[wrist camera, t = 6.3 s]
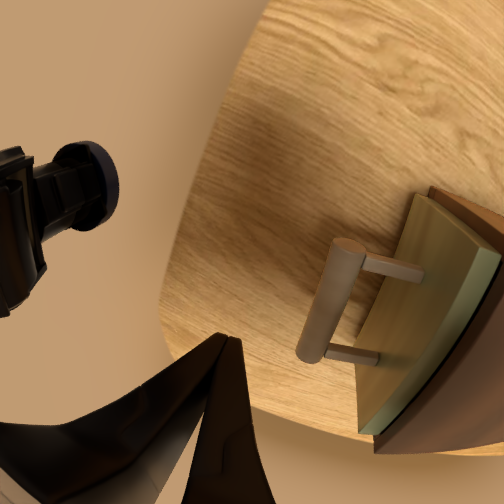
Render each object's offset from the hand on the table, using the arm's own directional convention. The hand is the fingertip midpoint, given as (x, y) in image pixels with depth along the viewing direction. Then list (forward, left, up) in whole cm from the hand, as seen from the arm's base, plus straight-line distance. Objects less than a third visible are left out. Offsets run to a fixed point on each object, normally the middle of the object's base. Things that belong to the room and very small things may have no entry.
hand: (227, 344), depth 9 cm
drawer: (+10, -4, -7) cm, 13 cm away
